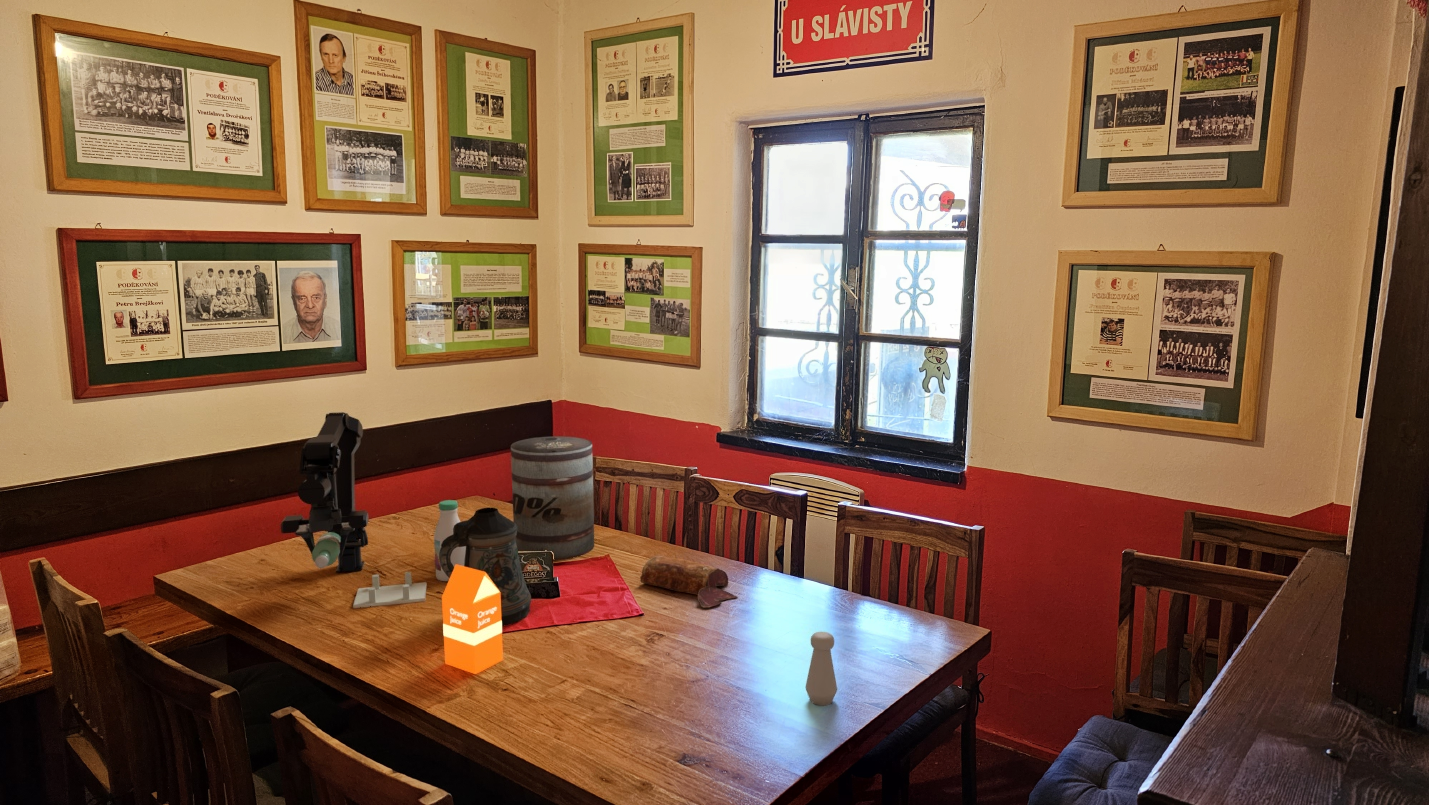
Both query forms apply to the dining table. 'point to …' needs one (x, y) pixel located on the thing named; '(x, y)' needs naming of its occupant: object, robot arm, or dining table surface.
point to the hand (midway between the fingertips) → (328, 556)
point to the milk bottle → (443, 531)
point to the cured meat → (687, 578)
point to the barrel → (553, 495)
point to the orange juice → (472, 620)
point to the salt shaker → (821, 670)
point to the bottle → (326, 550)
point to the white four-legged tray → (390, 593)
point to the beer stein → (491, 558)
